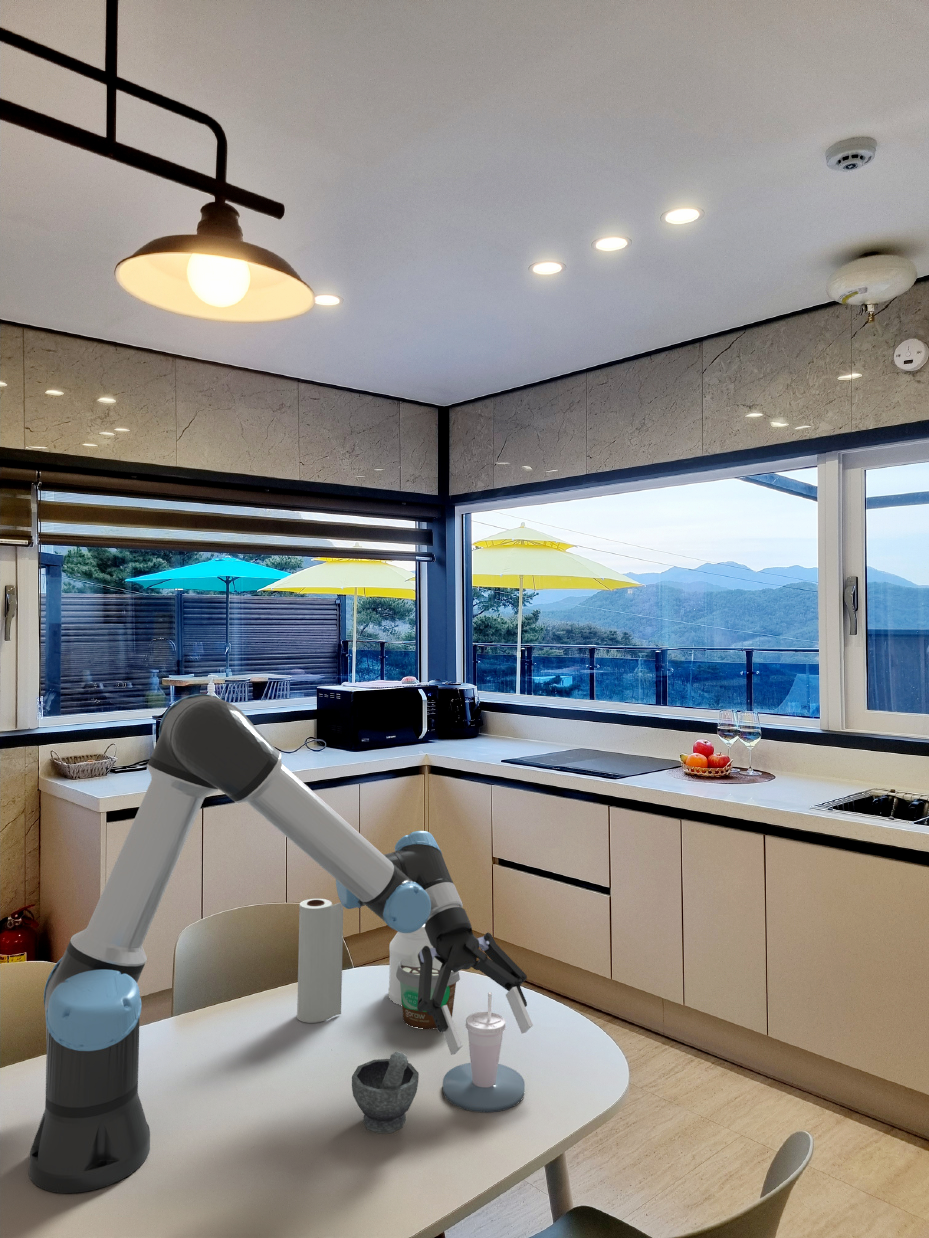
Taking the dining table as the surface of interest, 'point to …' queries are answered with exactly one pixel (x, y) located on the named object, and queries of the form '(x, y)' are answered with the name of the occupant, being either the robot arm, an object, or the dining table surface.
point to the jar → (406, 957)
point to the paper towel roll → (319, 960)
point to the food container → (410, 995)
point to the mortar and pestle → (385, 1091)
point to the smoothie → (485, 1045)
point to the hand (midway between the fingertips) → (493, 1039)
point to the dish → (483, 1089)
